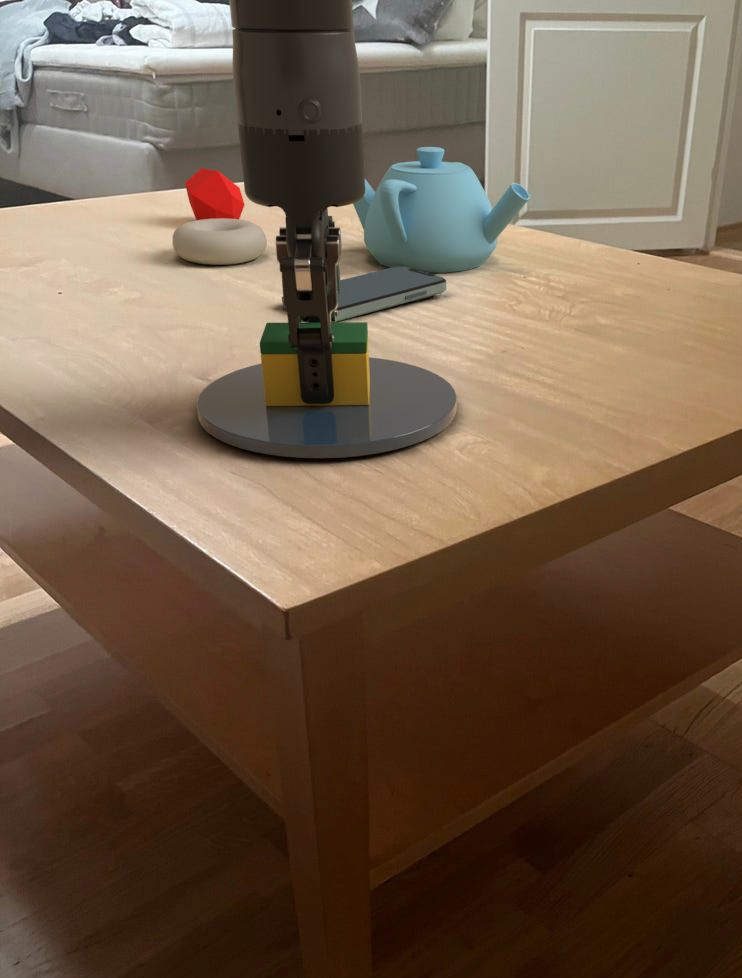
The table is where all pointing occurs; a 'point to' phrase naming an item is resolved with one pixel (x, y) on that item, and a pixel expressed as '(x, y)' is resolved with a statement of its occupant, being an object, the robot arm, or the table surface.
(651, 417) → the table surface
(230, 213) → the faceted red jewel
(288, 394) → the sponge
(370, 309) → the smartphone
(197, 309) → the table surface
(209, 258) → the donut
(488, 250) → the teapot
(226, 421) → the plate
